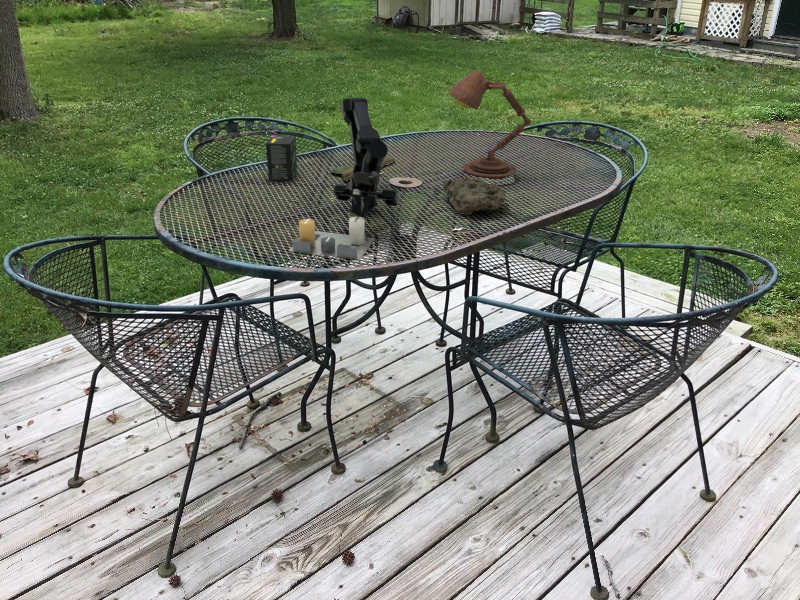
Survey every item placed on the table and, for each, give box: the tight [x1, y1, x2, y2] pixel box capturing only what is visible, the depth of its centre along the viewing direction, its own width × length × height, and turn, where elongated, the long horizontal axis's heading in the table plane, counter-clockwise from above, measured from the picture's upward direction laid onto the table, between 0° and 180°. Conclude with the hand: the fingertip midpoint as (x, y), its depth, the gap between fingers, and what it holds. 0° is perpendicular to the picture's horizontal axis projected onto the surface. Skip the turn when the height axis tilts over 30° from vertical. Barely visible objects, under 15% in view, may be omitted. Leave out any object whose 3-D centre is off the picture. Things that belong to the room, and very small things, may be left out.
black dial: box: [321, 237, 335, 252], centre depth 184 cm, size 4×4×3 cm
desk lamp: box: [449, 69, 532, 179], centre depth 242 cm, size 21×32×40 cm, turn 100°
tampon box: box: [265, 135, 298, 183], centre depth 242 cm, size 11×9×15 cm
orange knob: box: [298, 218, 316, 247], centre depth 185 cm, size 4×4×7 cm
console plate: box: [288, 230, 375, 260], centre depth 187 cm, size 16×21×4 cm
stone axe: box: [329, 155, 396, 181], centre depth 254 cm, size 26×5×30 cm
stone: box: [442, 178, 506, 215], centre depth 221 cm, size 25×19×8 cm
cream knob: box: [348, 215, 366, 245], centre depth 187 cm, size 4×4×7 cm
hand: (360, 221), depth 189 cm, fingers closed
